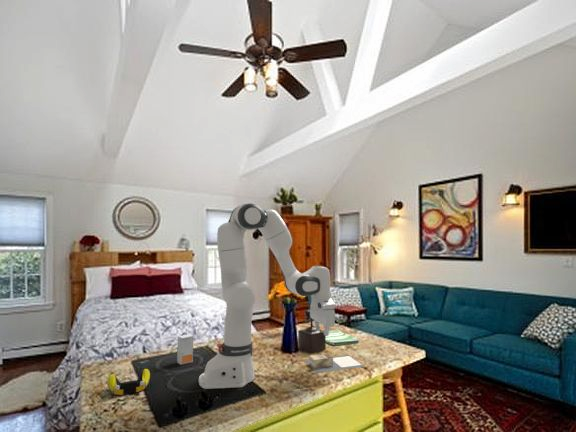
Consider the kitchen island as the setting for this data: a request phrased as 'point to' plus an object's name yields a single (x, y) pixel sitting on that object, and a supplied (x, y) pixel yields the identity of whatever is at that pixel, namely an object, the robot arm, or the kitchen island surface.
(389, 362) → the kitchen island surface
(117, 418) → the kitchen island surface
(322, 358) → the tan rectangular block
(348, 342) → the dish towel
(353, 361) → the mat
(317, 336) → the manual coffee grinder
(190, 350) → the skincare box
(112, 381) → the gaming controller
